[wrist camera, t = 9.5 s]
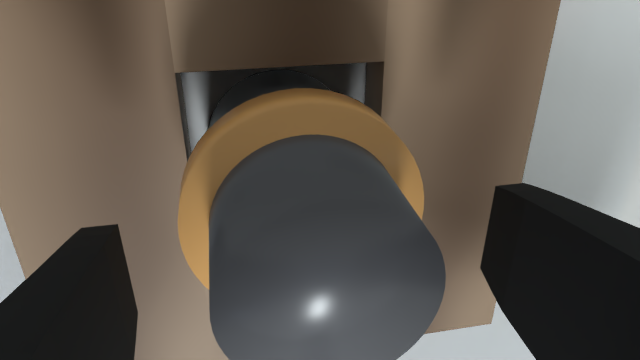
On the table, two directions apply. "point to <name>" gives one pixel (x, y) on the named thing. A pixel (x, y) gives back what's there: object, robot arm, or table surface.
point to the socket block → (248, 53)
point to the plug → (308, 226)
